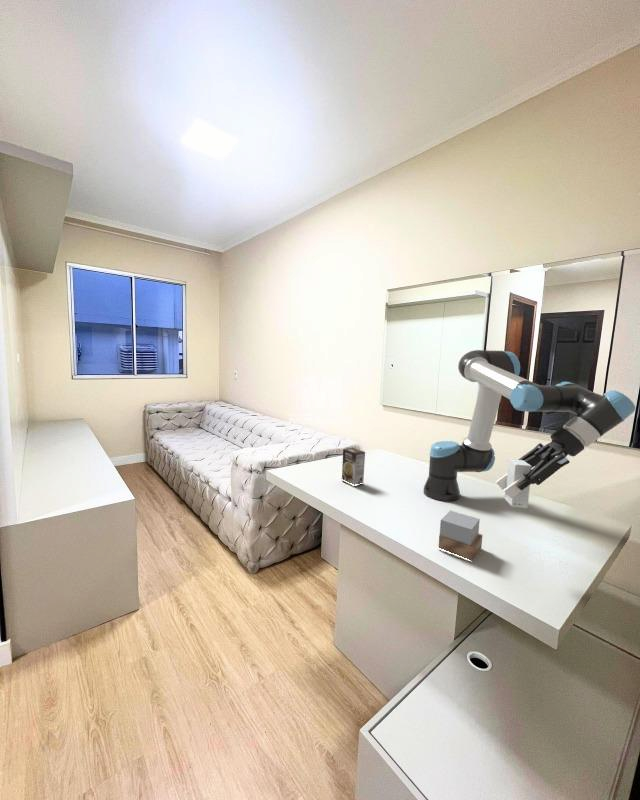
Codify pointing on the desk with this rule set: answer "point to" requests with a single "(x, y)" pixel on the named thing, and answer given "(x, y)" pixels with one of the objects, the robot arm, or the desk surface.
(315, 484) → the desk surface
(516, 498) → the skincare box
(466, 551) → the tower base block
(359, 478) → the coffee box
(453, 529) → the tower top block
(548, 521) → the desk surface
